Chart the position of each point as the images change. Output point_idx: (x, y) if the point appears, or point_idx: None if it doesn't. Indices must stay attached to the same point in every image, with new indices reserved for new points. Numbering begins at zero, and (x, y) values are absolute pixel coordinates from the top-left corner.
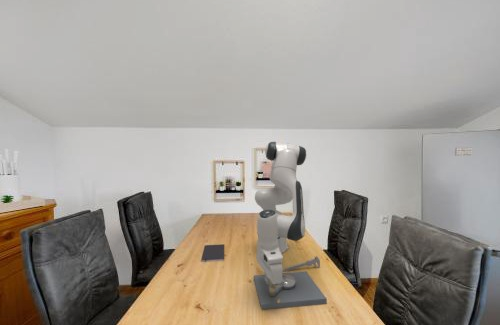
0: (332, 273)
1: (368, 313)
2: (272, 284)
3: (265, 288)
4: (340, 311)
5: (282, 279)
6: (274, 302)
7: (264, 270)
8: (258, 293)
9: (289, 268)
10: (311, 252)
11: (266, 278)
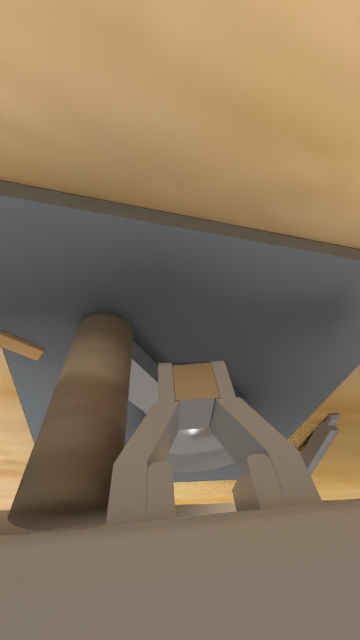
0: (211, 498)
1: (5, 507)
2: (41, 427)
3: (212, 309)
4: (9, 477)
5: (210, 436)
6: (3, 316)
7: (192, 608)
8: (168, 225)
9: (318, 443)
10: (346, 489)
11: (198, 403)
